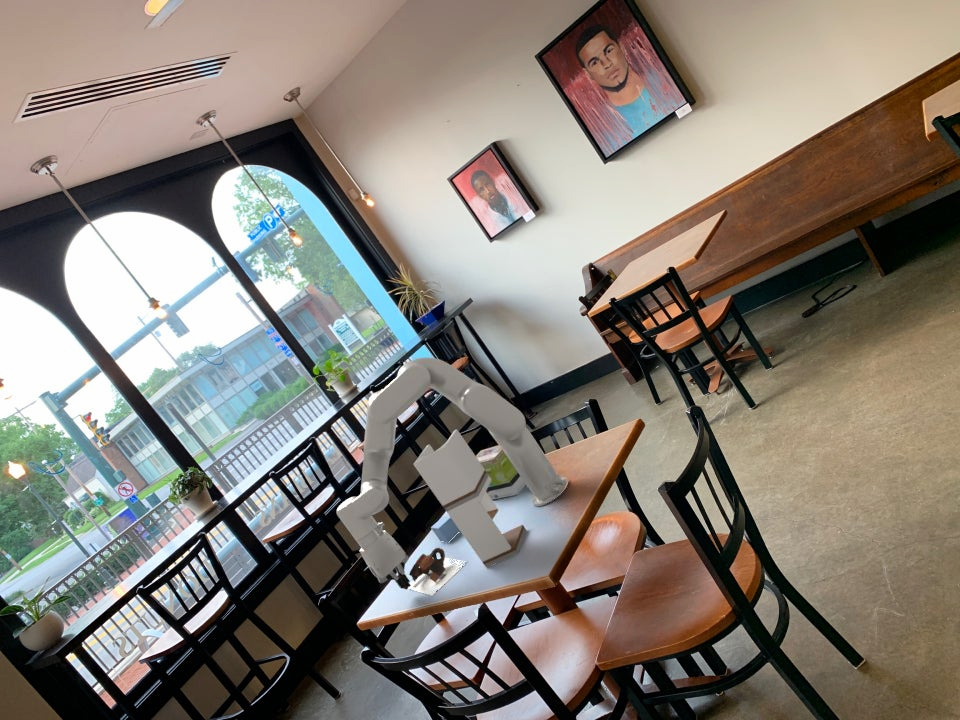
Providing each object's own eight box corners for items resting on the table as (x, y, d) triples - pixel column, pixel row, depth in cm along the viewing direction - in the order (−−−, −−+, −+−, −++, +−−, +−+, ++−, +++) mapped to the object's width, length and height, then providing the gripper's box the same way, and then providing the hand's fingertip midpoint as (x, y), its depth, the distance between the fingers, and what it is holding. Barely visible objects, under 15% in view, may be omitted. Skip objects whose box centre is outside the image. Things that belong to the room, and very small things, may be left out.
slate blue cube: (462, 530, 234) (451, 516, 233) (448, 543, 231) (438, 528, 230) (454, 530, 239) (444, 515, 238) (441, 542, 236) (430, 527, 236)
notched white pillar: (518, 553, 193) (444, 447, 188) (486, 568, 197) (413, 464, 192) (526, 530, 203) (456, 429, 198) (496, 544, 207) (426, 445, 202)
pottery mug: (430, 591, 207) (406, 574, 208) (430, 595, 215) (407, 578, 217) (454, 555, 211) (430, 539, 213) (453, 560, 220) (431, 544, 221)
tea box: (488, 502, 243) (463, 466, 241) (504, 484, 250) (480, 449, 248) (518, 495, 232) (492, 458, 230) (534, 476, 239) (509, 440, 237)
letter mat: (467, 562, 208) (467, 561, 208) (432, 596, 202) (431, 595, 202) (439, 556, 226) (438, 556, 226) (405, 587, 219) (405, 587, 219)
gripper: (385, 519, 213) (421, 568, 216) (345, 553, 206) (382, 603, 209) (394, 520, 207) (431, 570, 209) (354, 555, 200) (392, 607, 202)
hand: (406, 587), depth 209 cm, fingers closed
